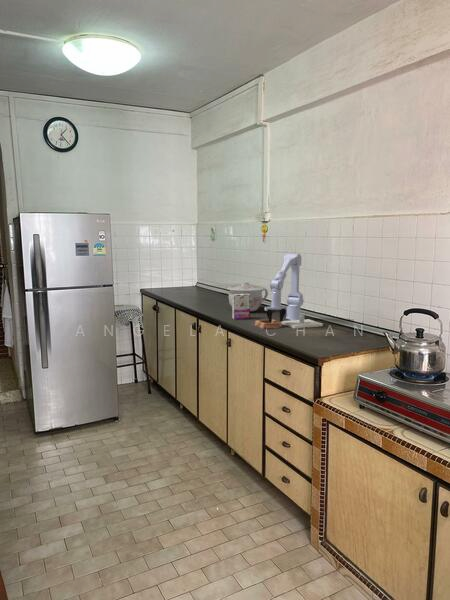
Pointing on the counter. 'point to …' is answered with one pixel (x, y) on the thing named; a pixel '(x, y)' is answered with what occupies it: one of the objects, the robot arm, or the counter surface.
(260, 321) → the loop
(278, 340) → the counter surface
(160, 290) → the counter surface
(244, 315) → the candy bar box
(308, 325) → the hook board
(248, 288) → the chamber pot
